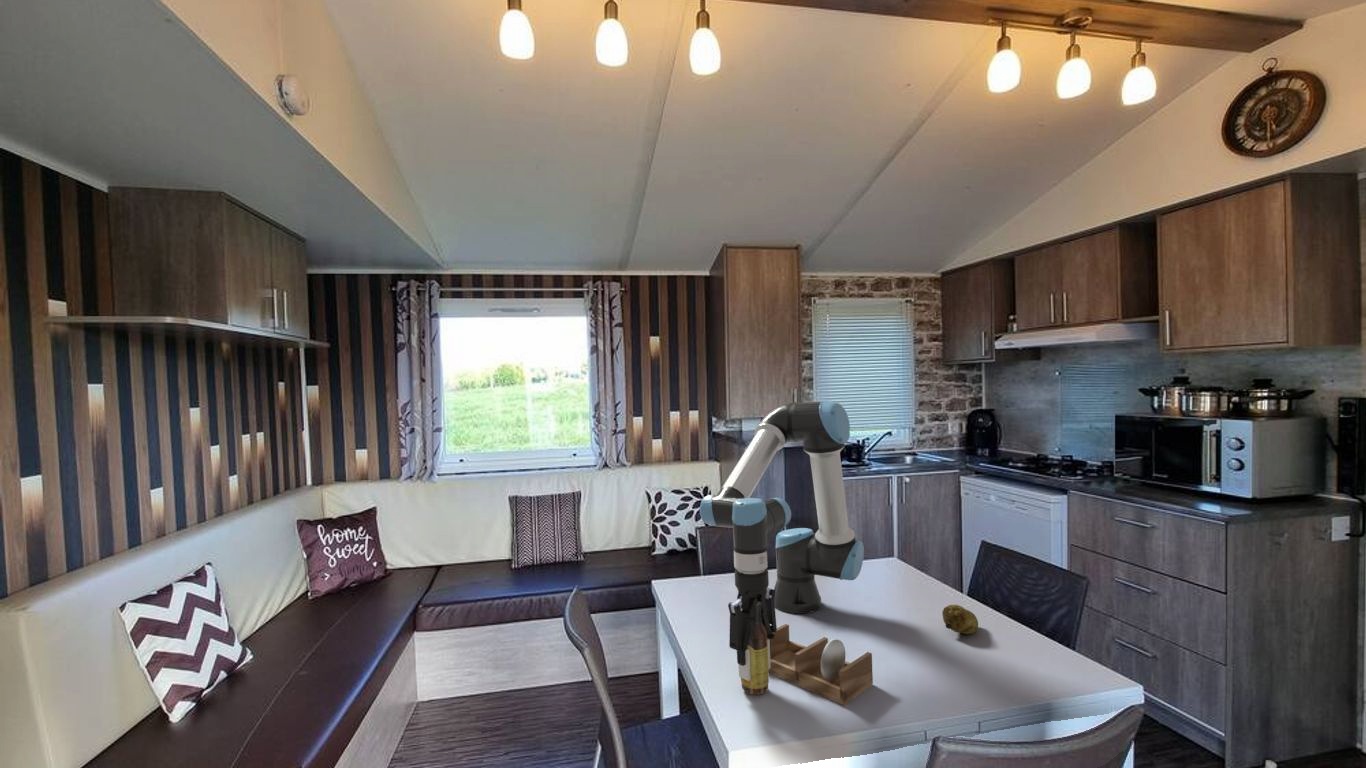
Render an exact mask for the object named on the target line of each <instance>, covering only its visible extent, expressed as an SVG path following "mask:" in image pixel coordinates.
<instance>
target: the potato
mask: <svg viewBox="0 0 1366 768" xmlns="http://www.w3.org/2000/svg"><path fill="white" fill-rule="evenodd" d="M942 619H943V622H944V624H945V628H946V629H949V630H951V631H953V632H955V633H960V634H963V635H972V634H974V633H975V632H976V631H977V630H978V628H979V621H978V618H977V616H976V615H975V613H973V612H972V611H970V610H968V609H966V608H964V607H962V606H961V605H958V604H949V605H947V606H945V607H943V610H942Z"/></svg>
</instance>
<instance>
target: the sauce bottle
mask: <svg viewBox="0 0 1366 768" xmlns="http://www.w3.org/2000/svg"><path fill="white" fill-rule="evenodd" d="M761 608H762V603H761V602H760V601H758V602H757V605H756V606H754V618H752V620H751V626H750V632H749V638H748V644H747V649H749V650H750V673H751V680H749V681H748V680H745V679H743V678H741V677H740V682H741V689H742V690H743V691H744V692H745V693H747V695H762V694H764V693H766V692H767V691H768V689H769V677H770V676H769V673H768V643H767V632H766V629H765V626H764V625H763V624H762V622H761V620H762V618H761ZM744 612H745V611H744ZM745 613H747V614H749V613H748V612H745ZM741 644H742V643H741Z"/></svg>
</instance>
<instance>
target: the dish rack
mask: <svg viewBox="0 0 1366 768" xmlns="http://www.w3.org/2000/svg"><path fill="white" fill-rule="evenodd" d="M772 634H774V635H775V637H774V639H771V638H770V639H771V650H770V664H771V668H770V669H768V674H770V675H773V676H775V677H777V678H779V679H782V680H785V681H786V682H789V683H790V684H791V683H792V684H794V685H795V686H798V687H800V688H803V689H805V690H808V691H810V692H812V693H814V694H816V695H819V696H822V697H824V698H826V699H828V700H831V701H832V702H835V703H837V704H840V705H843V706H846V705H847V704H849V703H850V702H851V701H853V700H854V699H856V698H857V697H858V696H859V695H861V694H863V692H865V691H866V690H867V689H869V688H871V686H873V684H874V679H873V678H874V677H873V675H874V674H873V653H872V652H869V651H867V652H865V653H864V654H862V655H861V656H859V657H858V658H857V659H854V660H853V661H852V662H849V661H847V660H846V648H845V645H844V643H843V642H842V641H841V640H840V639H836V638H832V639H830V640H828V639H829V638H827V637H825V636H824V637H822V638H820V639H818V640H816V641H815V642H813V643H811V644H808V645H807V646H806V645H802V644H799V643H797V642H794V641H791V640H790V625H789V624H787V623H784V624H783V625H780V626H779V627H777V631H776V632H775V633H774V632H773V633H772Z"/></svg>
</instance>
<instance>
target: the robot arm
mask: <svg viewBox="0 0 1366 768" xmlns="http://www.w3.org/2000/svg"><path fill="white" fill-rule="evenodd" d="M850 430H851V425H850V419H849V415H848V413H847V411H846V409H845V407H843V405H842V404H840V403H839V402H836V401H835V402H831V401H829V402H828V401H806V402H794V401H793V402H787V403H784V404H782V405H779V406H778V407H775V408H774V409H772V410H771V411H770V412H768V413H767V414H766V415H765V416H764V417H763V418H762V419H761V420H760V421H759V422H758V424H757V426H755V429H754V432H753V436H754V437H753V438H752V440H751V441H750V443H749V444H748V446H747V447H746V449H745V450H744V452H743V454H742V455H741V457H740V459H739V460H738V462H737V463H736V465H735V466H734V468H733V469H732V471H731V472H730V473H729V476H728V477H727V479H726V480H725V482H724V483H723V485H722V486H721V488H720V489H719V491H718V492H717V494H716V495H715V494H707V495H706V496H704V497H703V498H702V500H701V502H700V505H699V515H700V517H701V520H702V522H703V523H704V524H707V525H709V526H714V527H718V528H719V527H720V528H721V527H722V528H730V529H732V534H733V564H734V565H733V567H734V569H735V570H734V585H735V587H736V589H737V596H736V597H737V598H736V600H735V601H734V602H731V601H730V602H728V604H727V605H728V606H727V607H728V611H729V641H728V642H729V648H730V649H733V650H735V651H736V661H737V664H738V676H739V678H740V679H741V678H743V679H745V680H748V681H749V680H751V673H750V650H749V649H747V644H748V638H749V632H750V626H751V620H752V618H754V606H756V605H757V602H758V601H760V602H761V603H762V608H761V618H762V620H761V622H762V624H763V625H764V626H765V629H766V632H767V643H768V669H770V668H771V664H770V650H771V639H774V637H775V635H774V634H772V633H773V632H774V633H775V632H776V631H777V628H778V627H777V617H776V616H777V615H776V609H777V610H780V611H782V612H786V613H791V614H807V613H812V612H815V611H818V610H820V609H821V608H822V597H821V594H820V591H819V588H818V585H817V583H816V580H815V578H816V577H815V576H819V577H820V576H821V577H826V578H830V579H831V578H832V579H839V580H841V581H843V580H845V581H854V580H856V579H857V578H858V577H859V575H860V573H861V570H862V567H863V563H864V555H865V549H864V548H865V546H864V543H863V542H862V541H861V540H859V539H857V540H856V534H855V531H854V530H853V529H851V528H850V527H849V518H848V511H847V510H848V509H847V502H846V495H845V486H844V485H845V484H844V478H843V476H844V475H843V468H842V460H841V452H842V450H843V449H844V448H845V443H847V442H848V441H849V439H850V436H851V432H850ZM793 442H795V443H802V447H803V448H802V449H803V452H805V453H806V454H807V455H809V461H810V467H811V468H810V469H811V476H812V483H813V492H814V499H815V507H816V514H817V523H818V524H817V525H818V530H817V531H816V532H814V531H813V529H811V528H807V527H798V528H796V527H795V528H790V529H785V530H783V529H784V528H785V527H786V526H788V524H790V522H791V520H792V519H791V518H792V510H791V507H790V505H789V504H788V503H787V501H785V500H784V499H782V498H779V497H771V498H767V499H761V498H756V497H751V496H752V494H753V493H754V490H755V489H756V488H757V486H758V484H759V482H760V481H761V479H762V477H763V475H764V474H765V473H766V470H767V469H768V467H769V465H770V464H771V461H772V460H773V458H774V457H775V455H776V453H777V452H778V451H780V450H782V449H783V448H784V446H785V445H786V444H788V443H793ZM778 531H779V532H778ZM776 532H778V533H777V534H776V537H775V556H776V558H775V561H776V582H775V585H774V589H773V588H770V587H769V584H770V583H769V581H770V579H769V570H768V567H769V564H768V536H770V535H772V534H775V533H776ZM744 611H745V612H748V613H749V614H747V613H745V612H744ZM770 638H771V639H770ZM741 643H742V644H741Z"/></svg>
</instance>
